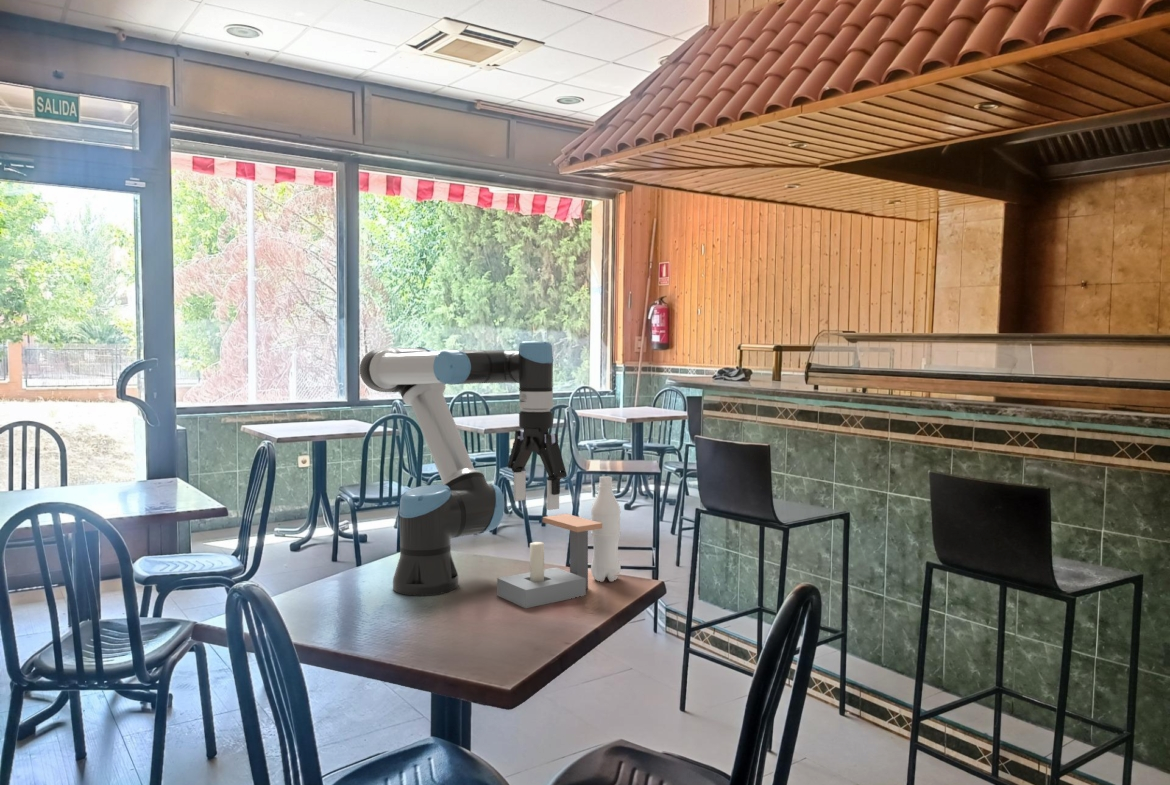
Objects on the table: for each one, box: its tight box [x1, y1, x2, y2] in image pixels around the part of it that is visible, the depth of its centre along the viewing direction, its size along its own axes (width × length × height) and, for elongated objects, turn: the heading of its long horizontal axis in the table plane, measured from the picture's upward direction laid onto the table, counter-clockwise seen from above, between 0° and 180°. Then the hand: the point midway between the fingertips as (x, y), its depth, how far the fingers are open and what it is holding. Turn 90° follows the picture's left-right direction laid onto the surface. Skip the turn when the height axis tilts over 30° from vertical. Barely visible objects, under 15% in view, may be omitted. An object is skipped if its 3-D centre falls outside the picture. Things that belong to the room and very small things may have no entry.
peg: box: [529, 541, 545, 583], centre depth 183 cm, size 3×3×12 cm
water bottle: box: [590, 475, 621, 583], centre depth 197 cm, size 7×7×25 cm
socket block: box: [496, 566, 587, 609], centre depth 184 cm, size 12×16×4 cm
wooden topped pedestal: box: [542, 513, 602, 589], centre depth 188 cm, size 14×7×16 cm, turn 36°
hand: (535, 504), depth 182 cm, fingers open, 13 cm apart
